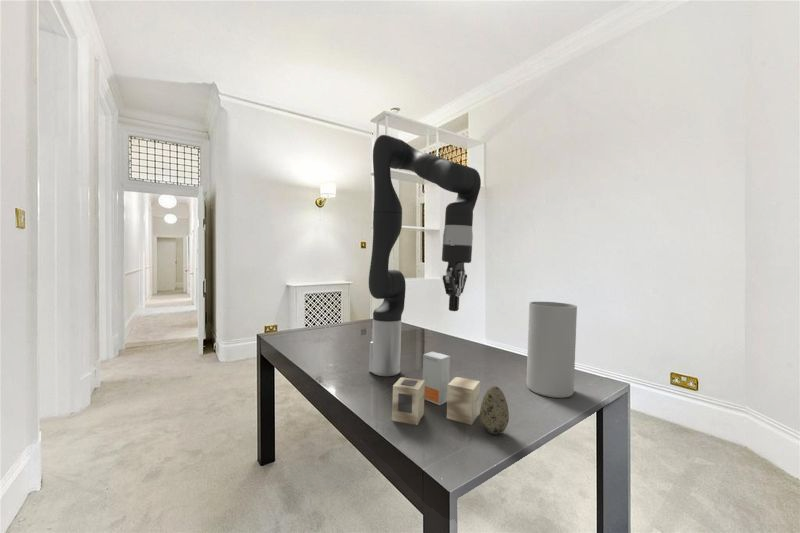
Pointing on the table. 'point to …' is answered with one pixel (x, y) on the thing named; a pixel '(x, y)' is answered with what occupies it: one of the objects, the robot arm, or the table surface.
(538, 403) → the table surface
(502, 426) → the decorative egg
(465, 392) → the birch block
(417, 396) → the marked block
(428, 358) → the skincare box
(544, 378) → the cylinder vase
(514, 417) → the table surface
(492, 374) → the table surface
